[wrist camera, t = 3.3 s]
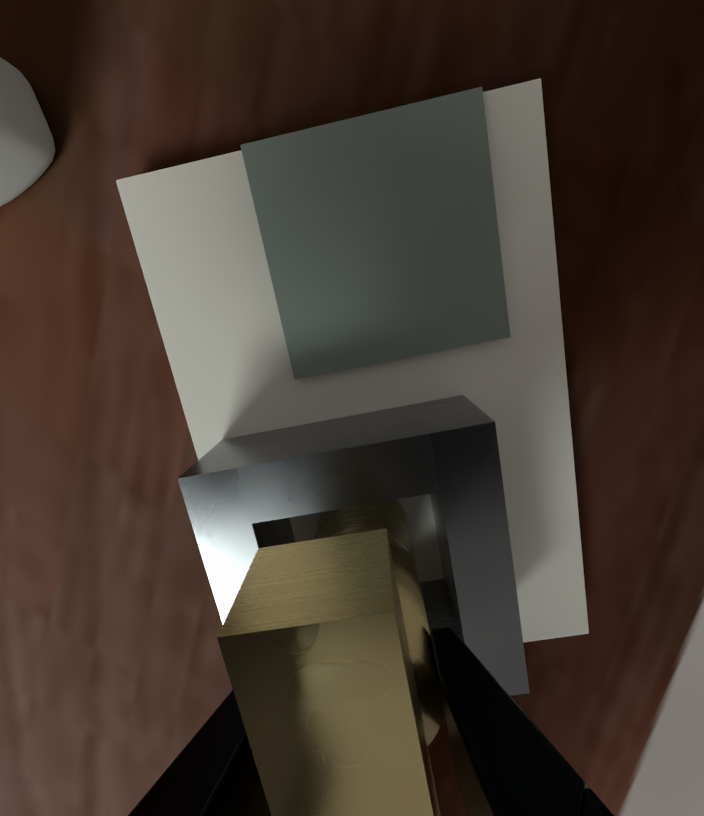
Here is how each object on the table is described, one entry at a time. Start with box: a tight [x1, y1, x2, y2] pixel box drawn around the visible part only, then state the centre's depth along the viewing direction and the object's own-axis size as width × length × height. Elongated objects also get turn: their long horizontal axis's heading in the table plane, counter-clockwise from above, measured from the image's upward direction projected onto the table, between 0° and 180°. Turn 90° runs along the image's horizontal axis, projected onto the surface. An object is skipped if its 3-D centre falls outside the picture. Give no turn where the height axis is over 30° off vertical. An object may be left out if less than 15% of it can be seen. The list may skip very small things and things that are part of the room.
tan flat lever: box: [217, 500, 444, 816], centre depth 9 cm, size 6×3×8 cm, turn 11°
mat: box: [240, 87, 511, 379], centre depth 11 cm, size 6×6×1 cm
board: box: [116, 78, 589, 643], centre depth 13 cm, size 16×11×1 cm
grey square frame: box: [178, 395, 530, 696], centre depth 11 cm, size 7×7×3 cm
